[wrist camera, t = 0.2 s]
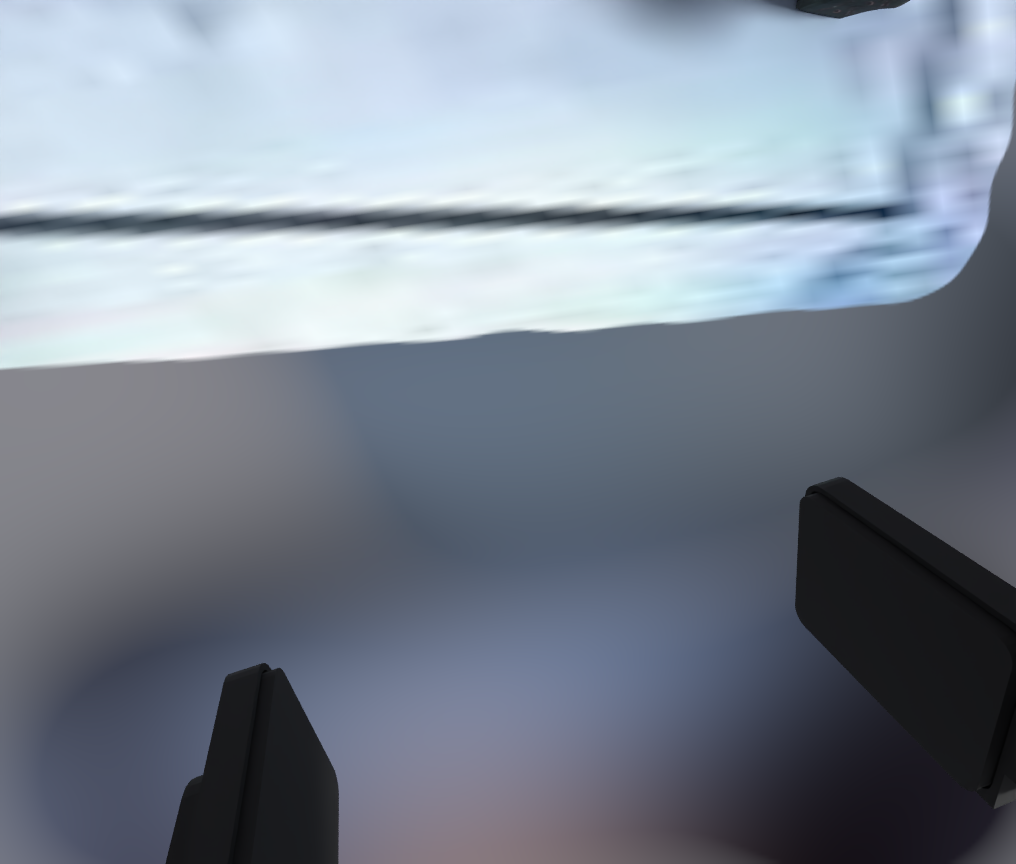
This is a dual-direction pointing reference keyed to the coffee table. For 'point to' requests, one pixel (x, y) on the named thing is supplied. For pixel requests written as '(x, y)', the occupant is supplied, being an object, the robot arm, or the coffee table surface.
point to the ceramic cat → (845, 6)
